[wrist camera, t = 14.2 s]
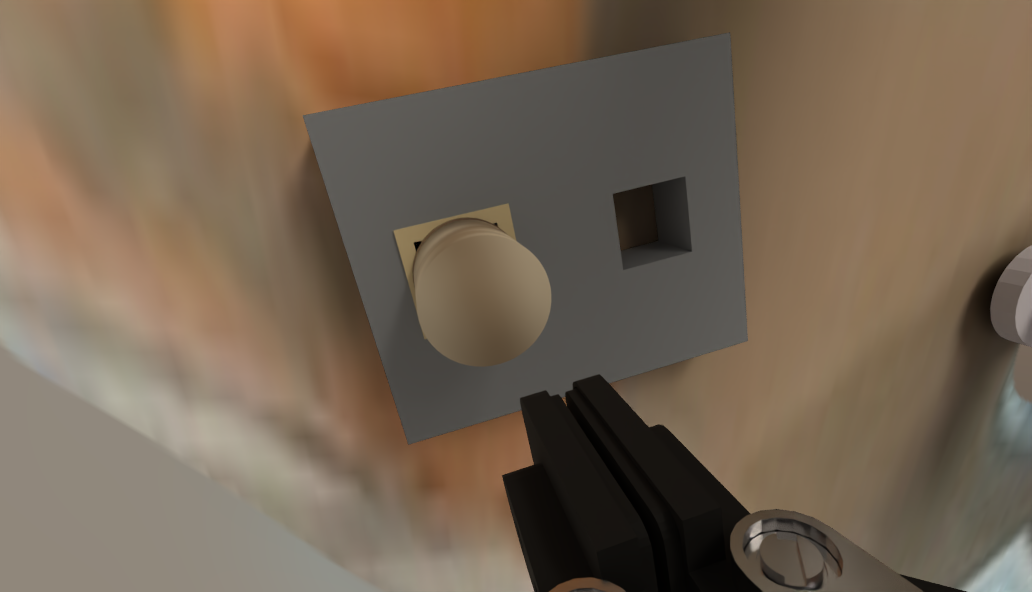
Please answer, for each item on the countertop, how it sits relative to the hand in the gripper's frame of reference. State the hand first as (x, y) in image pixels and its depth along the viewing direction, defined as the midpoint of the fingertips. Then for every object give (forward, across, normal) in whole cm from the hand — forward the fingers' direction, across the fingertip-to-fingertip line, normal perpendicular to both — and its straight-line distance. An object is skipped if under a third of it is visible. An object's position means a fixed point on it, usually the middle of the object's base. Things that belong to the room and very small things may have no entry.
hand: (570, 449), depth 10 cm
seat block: (+21, -5, 0) cm, 22 cm away
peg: (+20, 0, 0) cm, 20 cm away
